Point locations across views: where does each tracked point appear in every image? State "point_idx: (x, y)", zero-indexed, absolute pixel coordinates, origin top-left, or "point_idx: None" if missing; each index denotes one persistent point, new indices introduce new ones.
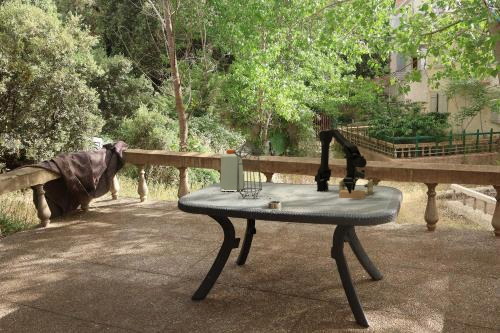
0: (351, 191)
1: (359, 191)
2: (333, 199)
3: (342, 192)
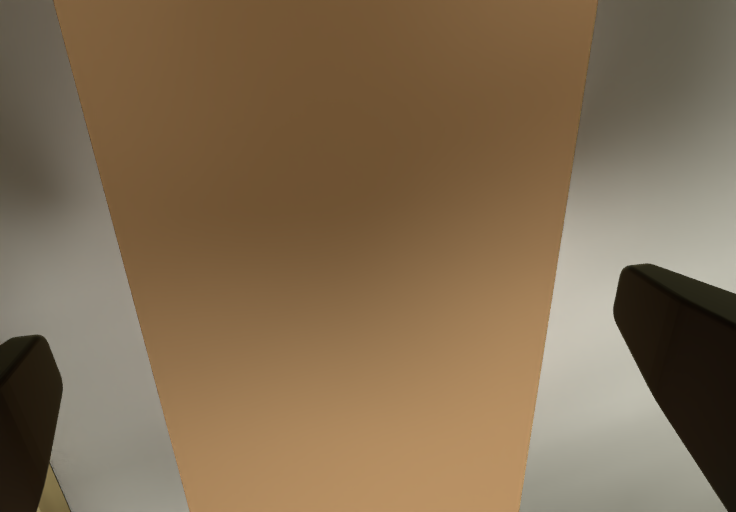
0: (407, 335)
1: (339, 14)
2: (638, 474)
3: (510, 506)
